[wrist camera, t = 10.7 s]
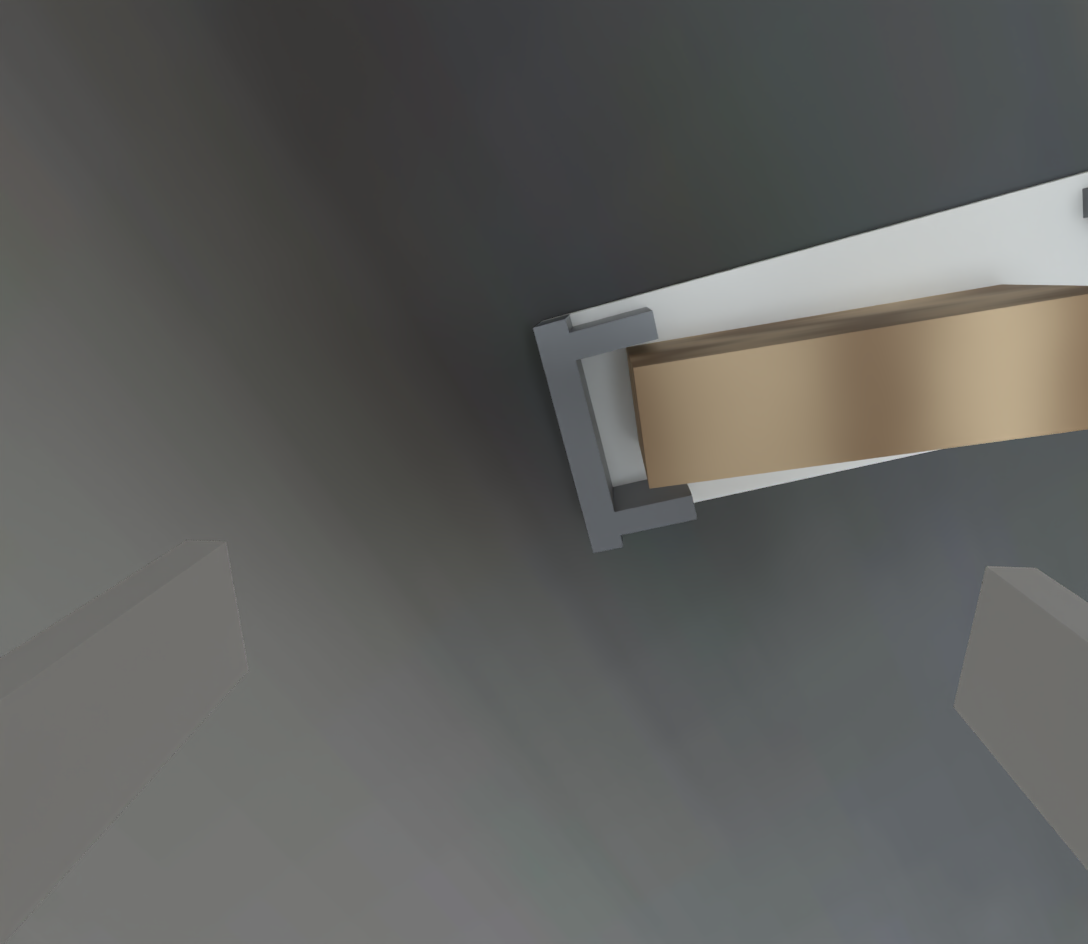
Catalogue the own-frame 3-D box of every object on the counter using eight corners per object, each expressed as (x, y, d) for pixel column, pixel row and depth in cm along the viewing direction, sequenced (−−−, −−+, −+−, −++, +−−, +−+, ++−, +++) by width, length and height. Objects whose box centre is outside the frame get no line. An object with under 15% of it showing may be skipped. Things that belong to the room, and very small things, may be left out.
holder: (543, 320, 26) (533, 328, 22) (1190, 142, 22) (1314, 114, 18) (594, 515, 28) (593, 553, 24) (1185, 386, 24) (1294, 406, 20)
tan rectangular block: (638, 442, 26) (649, 488, 20) (625, 347, 25) (633, 367, 19) (997, 389, 24) (1121, 424, 18) (1001, 284, 23) (1134, 286, 17)
